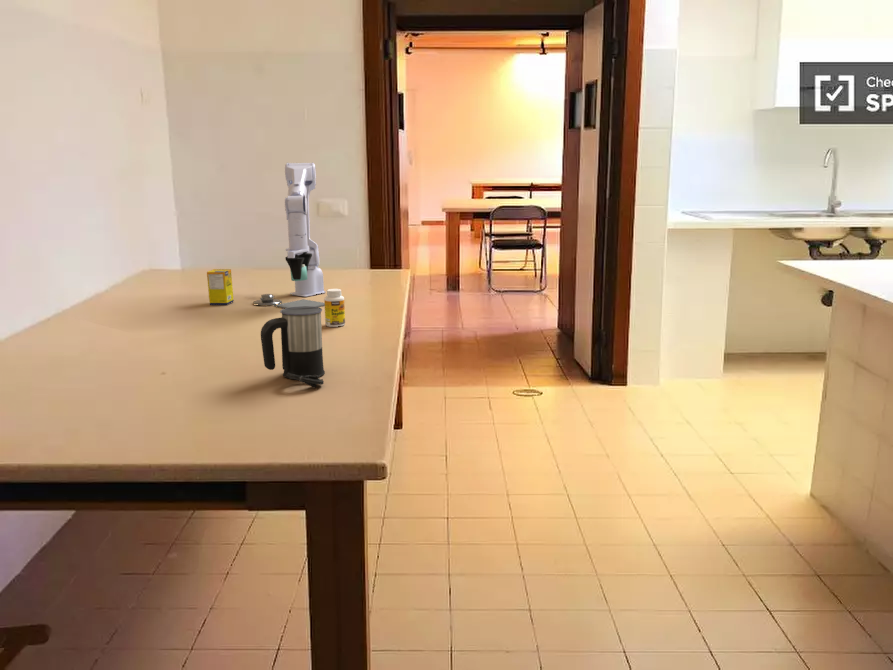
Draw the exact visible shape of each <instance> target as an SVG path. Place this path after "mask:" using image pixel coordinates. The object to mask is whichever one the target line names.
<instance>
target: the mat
mask: <svg viewBox="0 0 893 670" xmlns="http://www.w3.org/2000/svg"><path fill="white" fill-rule="evenodd" d="M275 306H277V307H276V308H279V307H281V308H280V309H284V308H290V307H299V306H311V307H318V308H321V306H322V307H325V302H321V301H316V300H311V299H305V298H303V299H298V300H294V301H293V300H292V301H290V302H282V303H281V304H278V305H274V306H273V307H275Z"/></svg>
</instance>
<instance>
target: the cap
mask: <svg viewBox="0 0 893 670" xmlns="http://www.w3.org/2000/svg"><path fill="white" fill-rule="evenodd" d="M290 279H291V281H293V282H295V281H302V280H307V269H306V266H305V264H302V271H301V279H300V280H294V279H293V276H292V272H291V269H290Z"/></svg>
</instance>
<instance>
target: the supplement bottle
mask: <svg viewBox="0 0 893 670" xmlns="http://www.w3.org/2000/svg"><path fill="white" fill-rule="evenodd" d="M323 301H324V302H323V303H325V306H324V320H325V326H327V327H328V328H329V327H330V328H339V327H338V326H341V327H344V326H345V324H346V310H345V309H346V308H345V297H344V295H342V289H340V288H329V289H327V290H326V296H325V297H324V300H323Z"/></svg>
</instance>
